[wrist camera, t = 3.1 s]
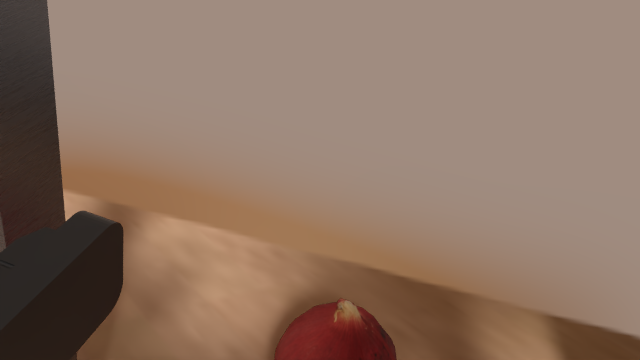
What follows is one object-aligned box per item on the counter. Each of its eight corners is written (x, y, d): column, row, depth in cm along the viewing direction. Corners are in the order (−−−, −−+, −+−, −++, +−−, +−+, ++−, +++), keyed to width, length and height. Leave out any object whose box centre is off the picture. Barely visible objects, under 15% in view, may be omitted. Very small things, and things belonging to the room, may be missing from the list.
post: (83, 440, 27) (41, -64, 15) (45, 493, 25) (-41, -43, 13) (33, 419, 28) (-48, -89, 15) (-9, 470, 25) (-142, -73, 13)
